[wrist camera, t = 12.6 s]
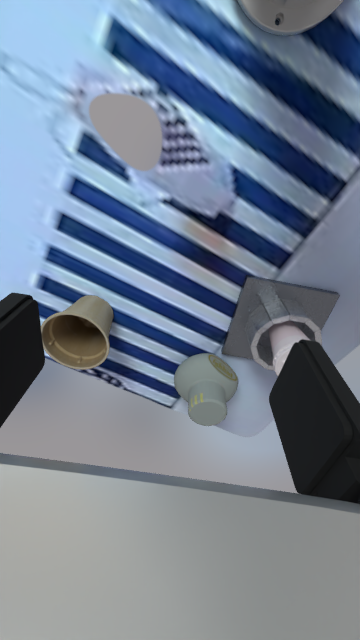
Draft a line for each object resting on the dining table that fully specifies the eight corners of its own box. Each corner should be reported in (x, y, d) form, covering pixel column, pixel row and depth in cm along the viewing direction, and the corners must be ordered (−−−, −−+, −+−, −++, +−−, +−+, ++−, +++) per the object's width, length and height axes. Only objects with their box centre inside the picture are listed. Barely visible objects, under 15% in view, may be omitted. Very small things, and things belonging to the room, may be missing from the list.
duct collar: (246, 274, 40) (253, 292, 35) (336, 292, 41) (357, 311, 36) (221, 350, 47) (224, 373, 42) (299, 363, 48) (311, 388, 43)
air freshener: (242, 372, 50) (253, 417, 41) (210, 396, 53) (214, 442, 44) (198, 339, 46) (200, 380, 38) (167, 366, 50) (162, 410, 41)
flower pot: (94, 345, 48) (75, 379, 40) (53, 305, 44) (24, 335, 37) (135, 319, 45) (123, 351, 37) (94, 274, 41) (72, 299, 33)
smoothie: (267, 303, 41) (298, 363, 29) (308, 312, 41) (354, 375, 29) (253, 337, 44) (275, 404, 32) (290, 345, 45) (326, 414, 33)
